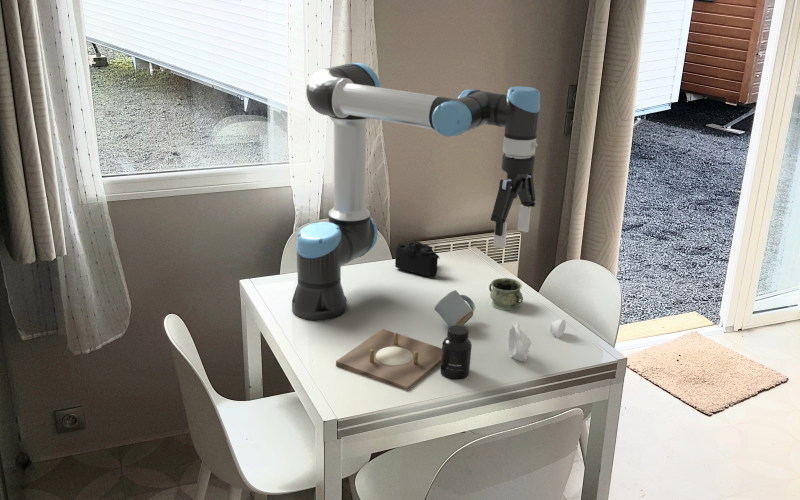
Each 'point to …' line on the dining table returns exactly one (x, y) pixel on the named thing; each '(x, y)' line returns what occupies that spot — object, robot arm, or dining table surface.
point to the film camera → (416, 258)
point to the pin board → (392, 359)
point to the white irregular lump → (558, 327)
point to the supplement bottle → (456, 353)
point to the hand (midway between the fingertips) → (511, 239)
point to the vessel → (506, 293)
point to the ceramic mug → (455, 308)
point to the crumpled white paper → (518, 343)
